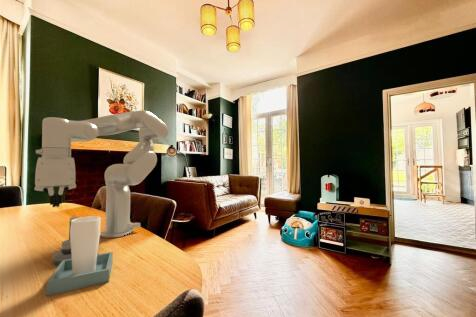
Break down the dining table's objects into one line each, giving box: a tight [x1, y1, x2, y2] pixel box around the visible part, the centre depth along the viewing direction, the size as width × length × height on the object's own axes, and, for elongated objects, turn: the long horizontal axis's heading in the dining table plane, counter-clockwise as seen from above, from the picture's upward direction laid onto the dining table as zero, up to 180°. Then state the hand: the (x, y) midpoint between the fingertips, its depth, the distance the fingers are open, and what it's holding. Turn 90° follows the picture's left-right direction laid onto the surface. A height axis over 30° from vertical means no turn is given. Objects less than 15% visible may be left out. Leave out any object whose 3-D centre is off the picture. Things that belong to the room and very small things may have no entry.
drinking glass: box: [70, 215, 102, 276], centre depth 55 cm, size 7×7×15 cm
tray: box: [45, 251, 114, 297], centre depth 55 cm, size 12×12×3 cm
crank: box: [60, 216, 79, 254], centre depth 68 cm, size 11×5×9 cm, turn 36°
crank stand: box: [51, 249, 72, 267], centre depth 68 cm, size 16×9×3 cm, turn 38°
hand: (56, 206), depth 69 cm, fingers closed
